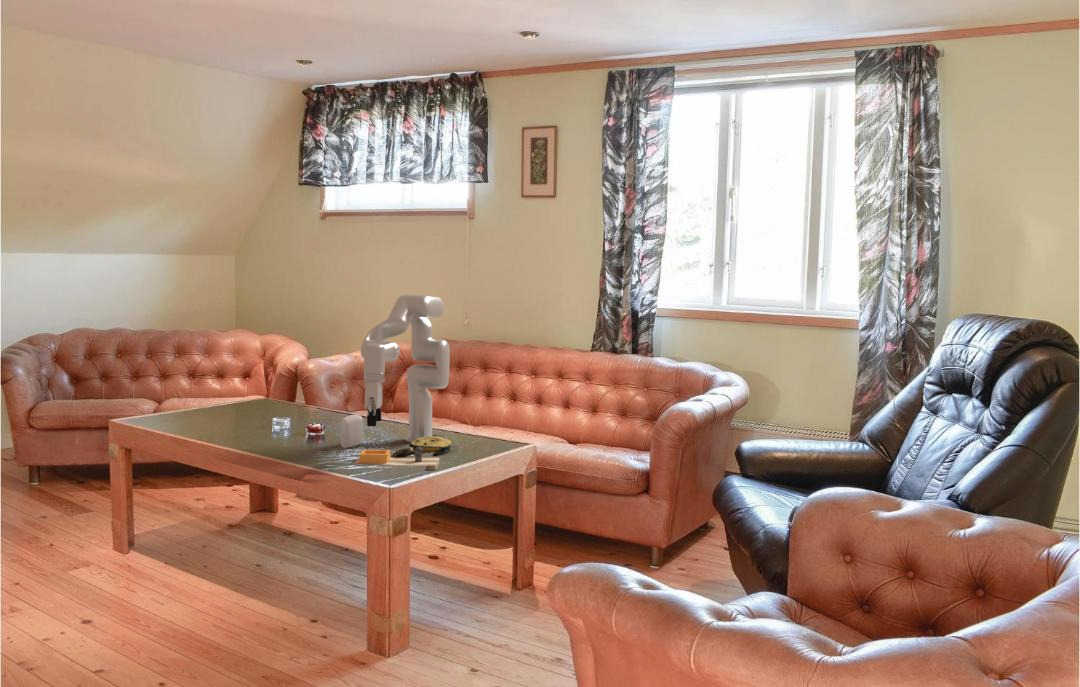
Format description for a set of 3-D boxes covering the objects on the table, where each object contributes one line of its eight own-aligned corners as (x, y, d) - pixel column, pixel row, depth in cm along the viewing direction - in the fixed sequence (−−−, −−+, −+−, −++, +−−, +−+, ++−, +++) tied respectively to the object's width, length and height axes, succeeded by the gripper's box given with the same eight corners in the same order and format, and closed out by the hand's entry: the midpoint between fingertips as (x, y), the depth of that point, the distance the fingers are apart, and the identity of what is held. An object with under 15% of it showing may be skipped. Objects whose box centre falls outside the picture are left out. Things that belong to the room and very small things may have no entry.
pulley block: (382, 440, 334) (437, 428, 358) (380, 455, 335) (436, 442, 359) (408, 452, 326) (463, 439, 349) (406, 466, 327) (461, 453, 351)
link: (363, 458, 328) (363, 449, 328) (390, 458, 328) (390, 450, 328) (359, 462, 321) (359, 454, 321) (386, 463, 321) (386, 454, 321)
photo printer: (347, 448, 349) (347, 417, 348) (339, 447, 351) (339, 416, 350) (364, 443, 358) (364, 413, 357) (356, 442, 360) (356, 412, 359)
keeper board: (359, 460, 331) (359, 442, 330) (439, 461, 331) (439, 443, 330) (352, 468, 319) (352, 449, 318) (435, 469, 319) (435, 450, 318)
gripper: (368, 373, 330) (368, 419, 331) (359, 380, 313) (359, 427, 314) (388, 374, 330) (388, 419, 331) (380, 380, 312) (380, 428, 314)
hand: (374, 423), depth 323 cm, fingers open, 9 cm apart
